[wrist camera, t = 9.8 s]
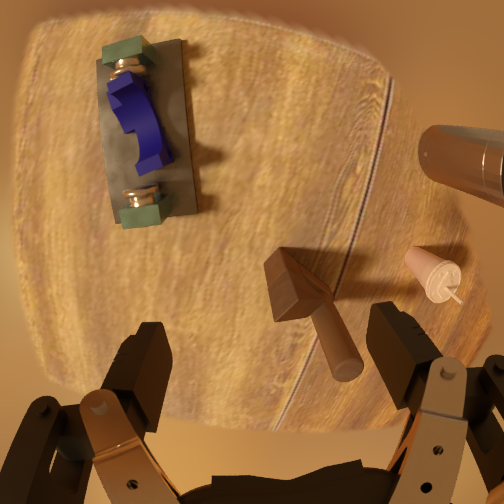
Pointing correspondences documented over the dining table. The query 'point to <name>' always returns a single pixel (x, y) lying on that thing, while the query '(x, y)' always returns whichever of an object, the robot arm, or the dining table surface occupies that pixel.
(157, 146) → the blue curved bracket
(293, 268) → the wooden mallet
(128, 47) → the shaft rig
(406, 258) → the smoothie
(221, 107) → the dining table surface
